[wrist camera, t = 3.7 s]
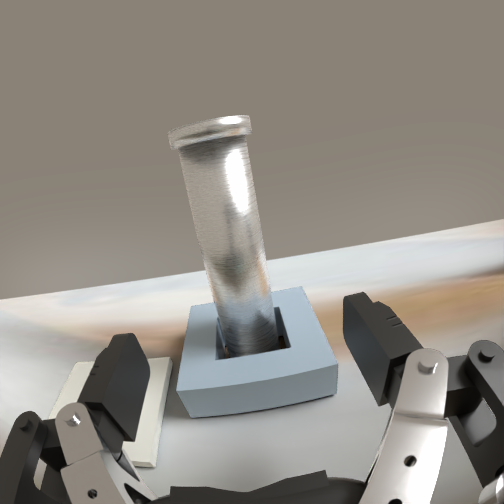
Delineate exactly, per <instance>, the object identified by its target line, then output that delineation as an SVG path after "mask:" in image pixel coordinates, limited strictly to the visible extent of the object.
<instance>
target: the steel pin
mask: <svg viewBox="0 0 504 504" xmlns="http://www.w3.org/2000/svg"><path fill="white" fill-rule="evenodd" d="M251 133H252V130H251V123H250V117H249V116H248V115H238V116H227V117H221V118H214V119H209V120H204V121H199V122H195V123H191V124H188V125H184V126H181V127H178V128H175V129H172V130H170V131H168V136H169V142H170V146H171V149H177V148H178V150H179V155H180V160H181V165H182V170H183V175H184V180H185V184H186V189H187V194H188V198H189V203H190V207H191V212H192V216H193V220H194V225H195V228H196V233H197V237H198V241H199V245H200V249H201V253H202V257H203V261H204V265H205V269H206V273H207V277H208V281H209V285H210V288H211V292H212V296H213V300H214V303H215V307H216V310H217V314H218V318H219V321H220V325H221V328H222V332H223V335H224V339H225V342H226V345H227V349H228V352H229V355H230V358H236V357H242V356H248V355H254V354H260V353H265V352H271V351H276V350H280V347H279V340H278V334H277V327H276V320H275V314H274V307H273V301H272V294H271V288H270V281H269V275H268V269H267V263H266V257H265V250H264V244H263V238H262V232H261V225H260V219H259V213H258V208H257V201H256V196H255V190H254V183H253V177H252V172H251V166H250V160H249V154H248V148H247V143H246V137H245V135H247V134H251Z"/></svg>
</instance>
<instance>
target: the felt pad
mask: <svg viewBox="0 0 504 504" xmlns="http://www.w3.org/2000/svg"><path fill="white" fill-rule="evenodd" d="M147 360H148V363H149V366H150V379H149V383H148V387H147V391H146V395H145V399H144V403H143V408H142V412H141V416H140V421H139V425H138V430H137V434H136V439H135V442H126V441H123V445H122V448H123V449H124V450H125V451H126V453H127V455H128V457H129V458H130V460H131V462H132V463H133V465H134V466H141V467H156V460H157V453H158V446H159V439H160V433H161V427H162V420H163V414H164V408H165V403H166V397H167V391H168V386H169V381H170V375H171V370H172V365H173V363H172V361H171V358H170V357H162V358H150V359H147ZM93 365H94V362H76V364H75V366H74V368H73V369H72V371H71V373H70V375H69V377H68V379H67V381H66V383H65V385H64V387H63V389H62V391H61V393H60V395H59V397H58V399H57V401H56V403H55V405H54V407H53V409H52V412H51V414H50V416H49V418H48V419H54V418H56V416H57V414H58V412H59V411H60V410H61V409H62V408H63V407H64V406H66V405H67V404H70V403H74V402H77V400H78V398H79V395H80V393H81V391H82V388H83V386H84V384H85V382H86V380H87V377H88V376H89V375H90V374H89V373H90V371H91V369H92V368H93Z"/></svg>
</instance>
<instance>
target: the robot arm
mask: <svg viewBox="0 0 504 504" xmlns="http://www.w3.org/2000/svg"><path fill="white" fill-rule="evenodd" d="M343 335H344V339H345V342H346V344H347V346H348V348H349V350H350V352H351V354H352V356H353V358H354V360H355V361H356V363H357V365H358V367H359V369H360V371H361V373H362V375H363V377H364V379H365V380H366V382H367V384H368V386H369V388H370V390H371V392H372V394H373V396H374V398H375V400H376V402H377V404H378V406H382V405H384V404H387V403H389V404H390V406H391V408H392V410H391V413H390V416H389V420H388V423H387V426H386V429H385V432H384V435H383V437H382V440H381V443H380V446H379V448H378V451H377V454H376V456H375V459H374V461H373V463H372V466H371V468H370V470H369V472H368V475H367V477H366V479H365V481H364V482H362V481H358V480H354V479H349V478H338V477H329V478H327V475H326V471H325V470H323V471H319V472H315V473H311V474H306V475H301V476H297V477H292V478H286V479H284V480H281V481H279V482H276V483H273V484H271V485H268V486H265V487H262V488H260V489H257V490H254V491H251V492H236V491H228V490H222V489H216V488H211V487H175V486H171V488H170V495H166V496H163V497H160V498H158V497H157V496H156V495H155V494H154V493H153V492H152V491H151V490H150V489H149V488H148V486H147V485H146V484H145V482H144V481H143V479H142V478H141V476H140V475H139V473H138V471H137V470H136V468H135V467H134V465H133V463H132V462H131V460H130V458H129V457H128V455H127V453H126V451H125V450H124V449H123V448H122V445H123V441H126V442H135V439H136V434H137V430H138V425H139V421H140V416H141V412H142V408H143V403H144V399H145V395H146V391H147V387H148V383H149V379H150V366H149V363H148V360H147V358H146V356H145V354H144V352H143V350H142V348H141V346H140V344H139V342H138V340H137V338H136V336H135V335H134V334H133V333H127V334H117V335H114V336H113V338H112V340H111V342H110V344H109V346H108V348H105V349H104V350H103V351H102V352H101V353H100V354H99V355H98V356H97V358H96V360H95V362H94V365H93V368H92V369H91V371H90V373H89V374H90V375H89V376H88V377H87V380H86V382H85V384H84V386H83V388H82V391H81V393H80V395H79V398H78V400H77V402H74V403H70V404H67V405H66V406H64V407H63V408H62V409H61V410H60V411H59V412H58V414H57V416H56V418H54V419H48V420H43V421H42V420H41V418H40V417H39V416H38V415H37V414H36V413H35V412H32V411H27V412H24V413H22V414H21V415H20V416H19V417H18V418H17V419H16V420H15V422H14V425H13V427H12V429H11V432H10V434H9V436H8V439H7V441H6V444H5V447H4V449H3V452H2V455H1V457H0V504H429V502H430V499H431V496H432V493H433V489H434V486H435V482H436V479H437V475H438V471H439V467H440V463H441V459H442V454H443V449H444V444H445V439H446V433H447V426H448V422H447V419H444V418H446V417H448V418H449V420H450V422H451V423H452V425H453V427H454V429H455V431H456V433H457V435H458V437H459V439H460V441H461V442H462V444H463V446H464V448H465V450H466V452H467V454H468V457H469V459H470V461H471V463H472V465H473V467H474V469H475V471H476V474H477V476H478V478H479V480H480V482H481V485H482V487H483V490H482V492H481V494H480V496H479V500H478V504H504V351H503V350H502V349H501V348H500V347H499V346H498V345H497V344H495V343H494V342H491V341H488V340H480V341H477V342H475V343H473V344H472V345H471V347H470V349H469V351H468V354H467V355H463V356H456V357H450V358H446V357H445V356H444V355H443V354H442V353H441V352H439V351H437V350H434V349H430V348H423V347H422V345H421V344H420V343H419V342H418V340H417V339H416V338H415V337H414V336H413V334H412V333H411V332H410V331H409V329H408V328H407V327H406V326H405V325H404V324H403V323H402V321H401V320H400V319H399V318H398V317H397V315H396V314H395V313H394V312H393V311H392V309H391V308H390V307H388V306H386V305H385V304H383V303H381V302H379V301H378V302H374V303H373V302H372V301H371V300H370V298H369V297H368V296H367V295H366V293H364V292H361V293H357V294H353V295H348V296H345V297H344V299H343ZM483 399H485V401H486V402H487V404H488V405H489V407H490V408H491V410H492V411H493V413H494V415H495V417H496V419H495V417H494V415H493V414H492V412H491V411H490V409H489V407H488V406H487V404H486V403H485V401H484V400H483ZM39 458H40V459H41V460H42V461H44V462H45V463H46V464H47V466H46V470H45V474H44V477H43V481H42V485H41V490H39V489H37V488H36V486H35V484H34V480H33V478H34V474H35V470H36V467H37V463H38V460H39Z"/></svg>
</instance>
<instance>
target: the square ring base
mask: <svg viewBox="0 0 504 504" xmlns="http://www.w3.org/2000/svg"><path fill="white" fill-rule="evenodd" d="M271 294H272V301H273V307H274V314H275V320H276V327H277V334H278V336H281V335H283V337H284V340H285V344H286V347H287V348H286V349H281V350H276V351H271V352H265V353H260V354H254V355H248V356H242V357H236V358H229V359H225V345H226V342H225V339H224V335H223V332H222V328H221V325H220V321H219V318H218V314H217V310H216V307H215V303H208V304H201V305H195V306H191V309H190V314H189V319H188V324H187V330H186V335H185V341H184V346H183V352H182V358H181V364H180V370H179V376H178V382H177V388H176V392H177V394H178V395H179V397H180V399H181V401H182V403H183V404H184V406H185V408H186V410H187V411H188V413H189V415H190V417H191V418H194V417H207V416H218V415H227V414H236V413H243V412H250V411H257V410H263V409H269V408H275V407H280V406H285V405H290V404H295V403H300V402H304V401H309V400H313V399H317V398H321V397H325V396H329V395H333V394H336V393H337V379H338V362H337V360H336V358H335V355H334V353H333V351H332V349H331V347H330V345H329V343H328V340H327V338H326V336H325V334H324V332H323V330H322V328H321V325H320V323H319V321H318V319H317V317H316V315H315V313H314V311H313V309H312V307H311V304H310V302H309V300H308V298H307V296H306V294H305V292H304V290H303V288H302V286H300V287H295V288H290V289H285V290H280V291H275V292H271Z"/></svg>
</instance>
